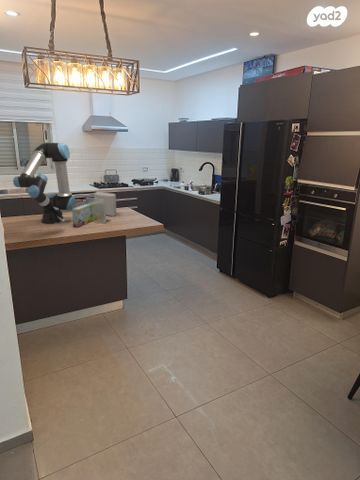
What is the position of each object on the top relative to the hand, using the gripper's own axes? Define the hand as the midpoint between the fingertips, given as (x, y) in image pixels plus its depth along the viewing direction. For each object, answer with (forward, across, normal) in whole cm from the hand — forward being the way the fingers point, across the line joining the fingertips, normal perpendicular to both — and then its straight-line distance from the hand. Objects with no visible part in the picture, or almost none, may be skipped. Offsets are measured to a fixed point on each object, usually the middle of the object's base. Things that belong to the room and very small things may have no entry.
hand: (63, 220), depth 252 cm
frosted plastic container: (+31, +5, +20) cm, 38 cm away
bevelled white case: (+47, -3, +36) cm, 59 cm away
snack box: (+21, 0, +9) cm, 23 cm away
